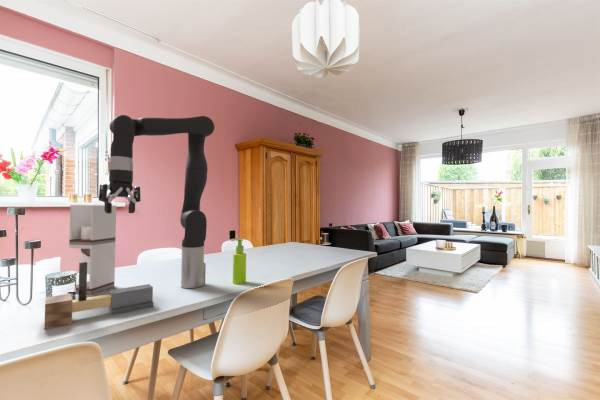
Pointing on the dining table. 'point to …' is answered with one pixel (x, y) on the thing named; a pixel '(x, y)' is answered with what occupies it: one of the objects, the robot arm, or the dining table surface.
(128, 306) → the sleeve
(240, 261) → the soap dispenser
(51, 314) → the socket block
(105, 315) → the dining table surface
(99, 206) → the grey tall box
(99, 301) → the post on wooden plank
